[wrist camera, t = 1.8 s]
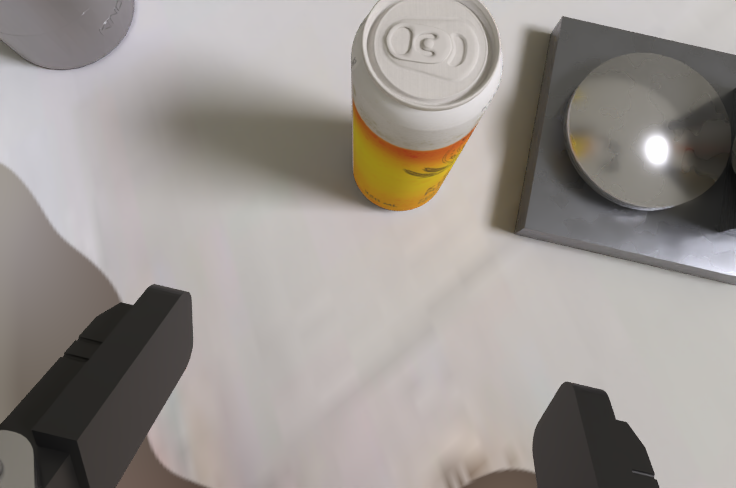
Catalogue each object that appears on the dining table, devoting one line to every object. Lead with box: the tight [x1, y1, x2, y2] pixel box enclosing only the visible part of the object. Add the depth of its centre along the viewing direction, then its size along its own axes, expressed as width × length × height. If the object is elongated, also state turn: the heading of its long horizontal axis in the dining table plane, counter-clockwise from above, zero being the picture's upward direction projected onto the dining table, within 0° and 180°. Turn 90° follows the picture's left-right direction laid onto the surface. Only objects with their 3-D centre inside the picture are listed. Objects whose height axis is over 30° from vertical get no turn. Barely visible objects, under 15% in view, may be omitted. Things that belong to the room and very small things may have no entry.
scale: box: [515, 16, 736, 285], centre depth 30 cm, size 15×15×9 cm
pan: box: [563, 53, 731, 211], centre depth 31 cm, size 10×10×1 cm
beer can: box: [351, 0, 503, 211], centre depth 26 cm, size 6×6×15 cm
